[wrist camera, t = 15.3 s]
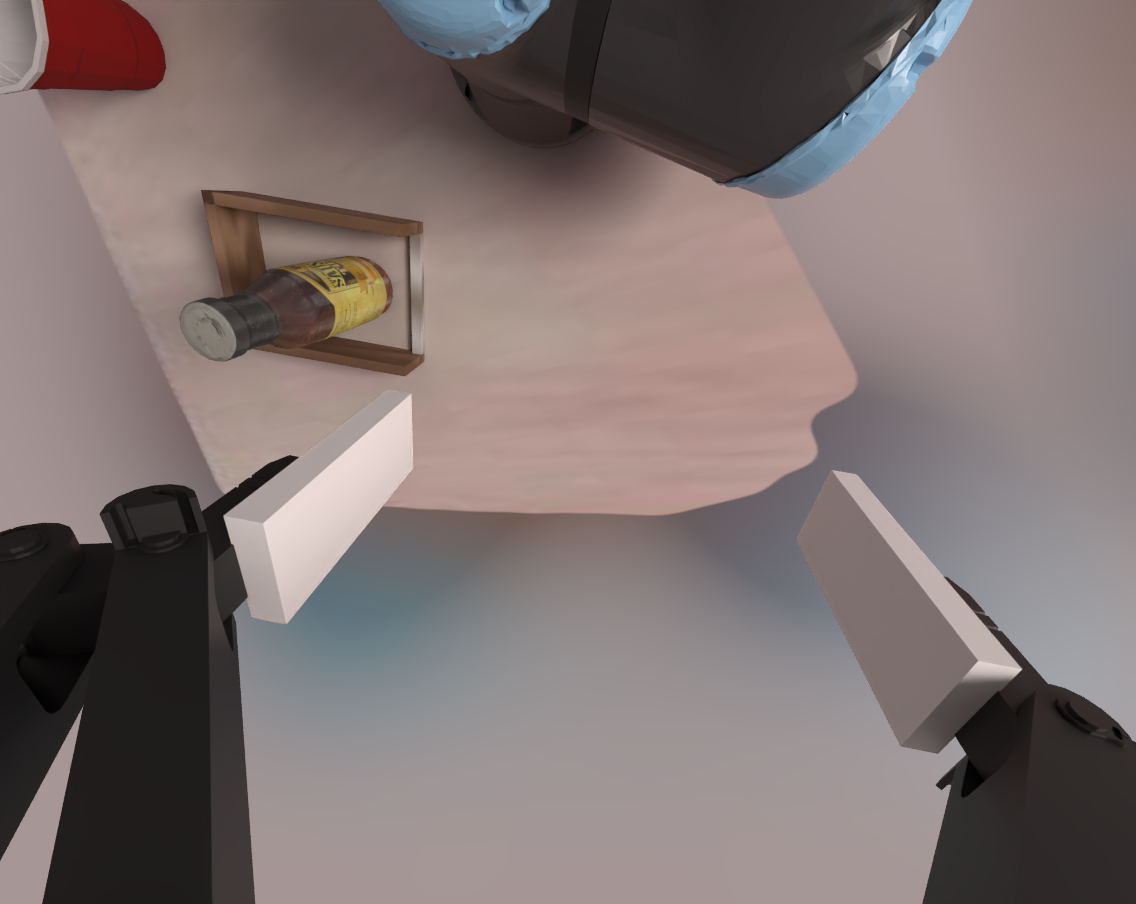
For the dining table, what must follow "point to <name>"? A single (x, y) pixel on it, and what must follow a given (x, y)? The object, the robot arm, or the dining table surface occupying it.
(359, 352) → the frame
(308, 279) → the sauce bottle
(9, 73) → the plastic cup
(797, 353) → the dining table surface
